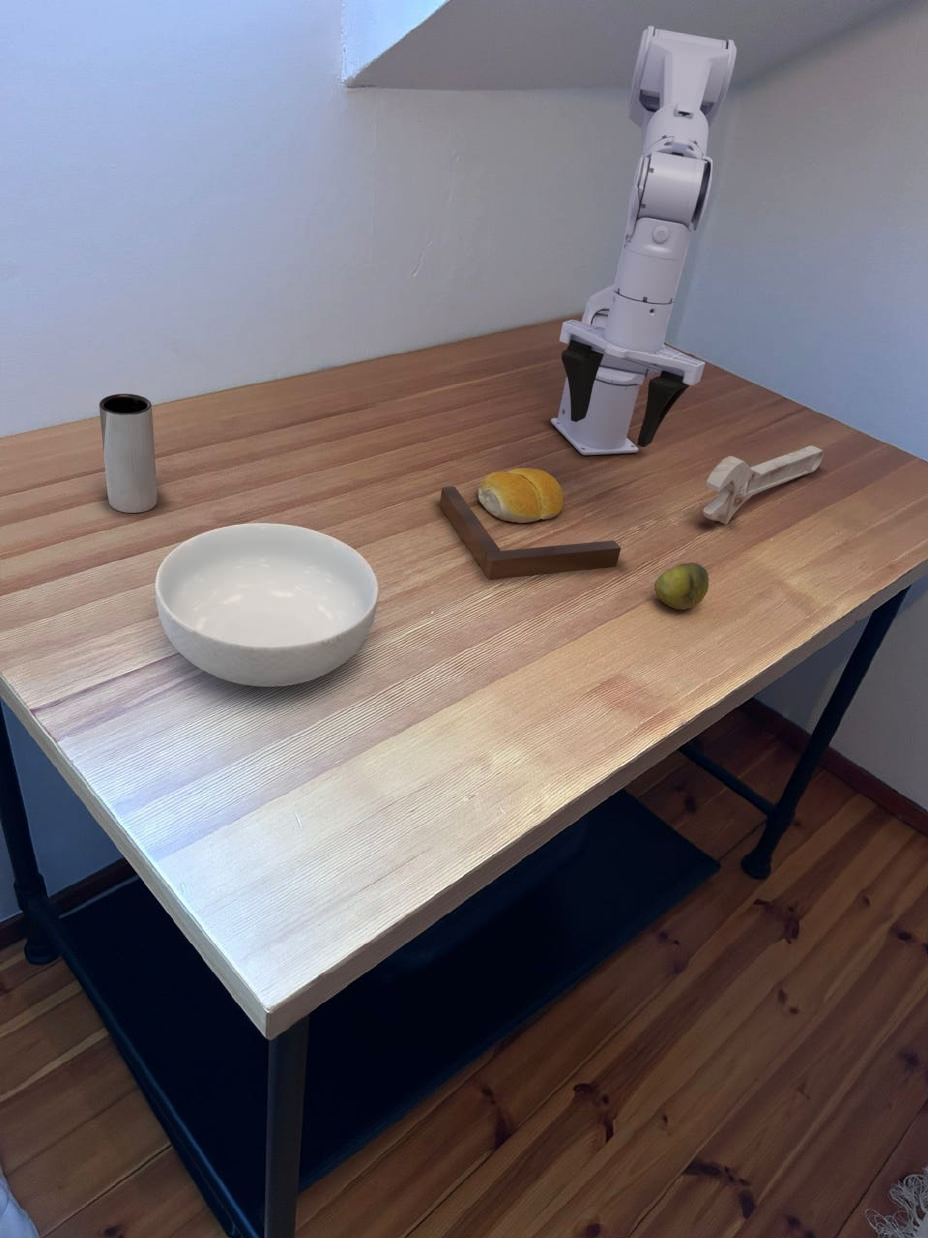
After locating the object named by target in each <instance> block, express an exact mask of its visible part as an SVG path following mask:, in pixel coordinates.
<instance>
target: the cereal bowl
mask: <svg viewBox="0 0 928 1238" xmlns="http://www.w3.org/2000/svg"><path fill="white" fill-rule="evenodd" d="M154 593H155V602H156V610H157V612H158V619H159V620H160V625H161V627H162V628H163V631H164V633H165V635H166V636H167V638H168V640H169V641H170V643H171V644H172V645H173V647H174V648H175V649H176V650H177V652H178V653H179V654H180V655H182V656H183V657H184V659H186V660H187V661H189V662H190V663H191V664H192V665H194V666H195V667H197V668H198V669H200V670H201V671H204V672H206V673H207V674H209V675H211V676H214V677H216V678H218V679H222V680H225V681H228V682H232V683H234V684H239V685H244V686H252V687H254V686H255V687H267V688H269V687H275V688H276V687H284V686H285V687H286V686H291V685H292V686H293V685H297V684H302V683H306V682H311V681H313V680H314V679H315V680H316V679H318V678H320V677H321V678H322V677H323V676H325V675H328V674H330V673H331V672H332V671H335V670H336V669H337V668H340V667H341V666H342V665H343V664H345V663H346V662H348V661H349V660H350V658H352V657H353V656H354V655H355V654H356V652H358V651H359V649H360V648H361V646H362V645H363V644H364V643H365V641H366V638H367V637H368V636H369V633H370V630H372V626H373V623H374V621H375V616H376V614H377V609H378V608H377V607H378V604H379V597H380V588H379V582H378V578H377V576H376V574H375V571H374V569H373V568H372V566H371V565H370V562H368V561H367V559H365V557H364V556H363V555H362V554H361V553H359V551H357V550H355V549H354V548H353V547H352V546H351V545H349V544H347V543H345V542H344V541H342V540H340V539H337V538H335V537H333V536H331V535H328V534H326V533H323V532H320V531H317V530H314V529H311V528H307V527H303V526H299V525H292V524H283V523H271V522H270V523H268V522H267V523H266V522H259V523H258V522H257V523H253V522H252V523H251V522H250V523H240V524H233V525H228V526H221V527H218V528H214V529H211V530H207V531H205V532H202V533H199V534H197V535H194V536H193V537H191V538H188V539H187V540H185V541H184V542H182V543H181V544H179V545H177V546H176V547H175V548H174V549H173V550H171V552H169V553H168V554H167V555H166V557H165V558H164V559H163V561H162V562H161V563H160V565H159V567H158V569H157V572H156V576H155V580H154Z"/></svg>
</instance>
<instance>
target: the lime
mask: <svg viewBox="0 0 928 1238" xmlns="http://www.w3.org/2000/svg"><path fill="white" fill-rule="evenodd" d="M709 580H710V579H709V573H708V570H707V568H705V567H704V566H703V565H701V564H699V563H697V562H687V563H680V564H677V565H676V566H673V567H671V568H669V569H668V570H666V571H664V572H663V573H661V575H660V576H659V577H658V578H657V579H656V580H655V582H654V592H655V595H656V596H657V598H658V599H659V600H660V601H661V602H662V603H663V604H665V605H667V606H669V607H671V608H672V609H676V610H686V609H690V608H694V607H695V606H697V605H698V604H700V603H702V601H703V600H704V598H705V596H706V595H707V593H708V591H709V585H710V584H709V583H710V581H709Z"/></svg>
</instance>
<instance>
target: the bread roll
mask: <svg viewBox="0 0 928 1238" xmlns="http://www.w3.org/2000/svg"><path fill="white" fill-rule="evenodd" d="M477 495H478V501H479V502H480V504H481V505H482V506H483V507H484V508H485V510H486V511H487V512H489V514H491V515H492V516H494V517H496V518H497V519H499V520H502V521H505V522H511V523H518V524H523V523H533V522H536V521H540V520H549V519H552V518H554V517H556V516H558V515H559V514H560V512H561V511H562V509H563V505H564V493H563V490H562V487H561V486H560V483H559V482H558V481H557V480H556V478H555V477H554V476H553V475H551V474H550V473H548V472H547V471H545V470H542V469H539V468H538V469H537V468H530V467H529V468H528V467H525V468H524V467H516V468H512V469H510V470H508V471H493V472H490V473H489V474H488V475H487V476H486V477H484V478H483V480H482V481H481V482H480V484H479V487H478V489H477Z"/></svg>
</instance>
